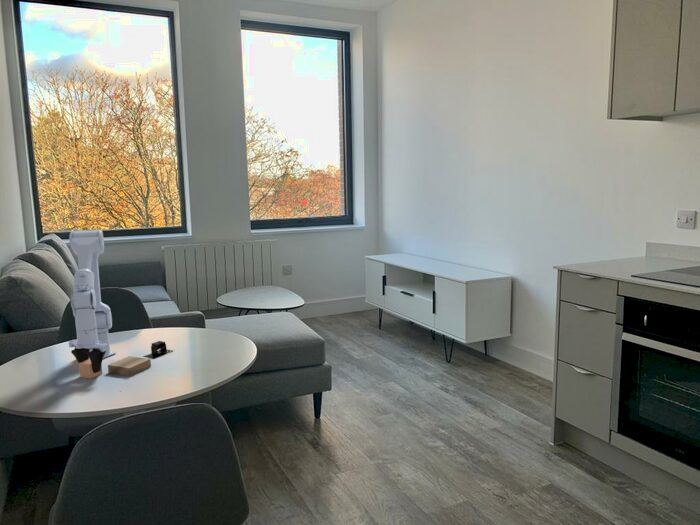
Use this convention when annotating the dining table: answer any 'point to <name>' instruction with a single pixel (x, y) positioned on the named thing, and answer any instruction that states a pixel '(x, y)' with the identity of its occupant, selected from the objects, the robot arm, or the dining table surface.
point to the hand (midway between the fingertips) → (90, 370)
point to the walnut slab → (129, 366)
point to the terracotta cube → (88, 369)
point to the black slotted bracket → (157, 346)
